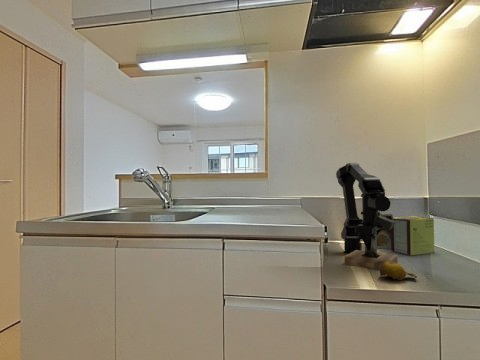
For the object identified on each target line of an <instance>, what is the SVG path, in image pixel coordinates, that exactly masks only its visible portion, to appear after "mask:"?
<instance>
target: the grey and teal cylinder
mask: <svg viewBox="0 0 480 360" xmlns="http://www.w3.org/2000/svg"><path fill="white" fill-rule="evenodd" d="M374 233H376V234H375V235H374V236H373V237H372V244H371V250H367V248H366V246H365V245H364V251H365V257H371V258H376V257H377V253H378V248H377V231H374Z"/></svg>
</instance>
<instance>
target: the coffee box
mask: <svg viewBox="0 0 480 360" xmlns="http://www.w3.org/2000/svg"><path fill="white" fill-rule="evenodd" d="M389 215H390V216H392V217H393V218H394V216H393V213H380V216H383V217H387V216H389ZM378 230H382V231H381V232H380V233H378V235H377V249H385V250H386V249H387V250H391V230H388V229H386V228H384V229H381V228H378Z"/></svg>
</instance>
